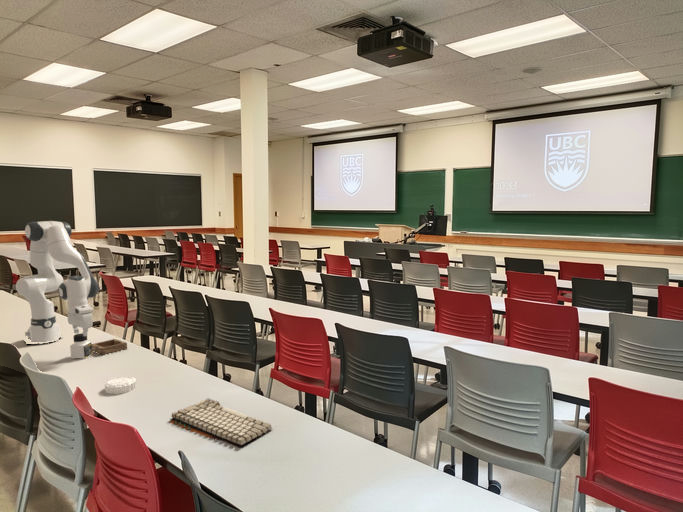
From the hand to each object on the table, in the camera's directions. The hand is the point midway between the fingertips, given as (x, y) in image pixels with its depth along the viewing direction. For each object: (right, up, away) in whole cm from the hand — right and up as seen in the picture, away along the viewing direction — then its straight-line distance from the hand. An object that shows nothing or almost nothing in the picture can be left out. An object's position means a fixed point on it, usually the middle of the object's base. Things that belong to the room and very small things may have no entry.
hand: (80, 334), depth 241 cm
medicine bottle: (0, -12, +2) cm, 12 cm away
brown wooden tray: (+8, -10, +12) cm, 18 cm away
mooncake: (+40, -16, -41) cm, 60 cm away
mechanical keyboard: (+91, -20, -75) cm, 119 cm away
